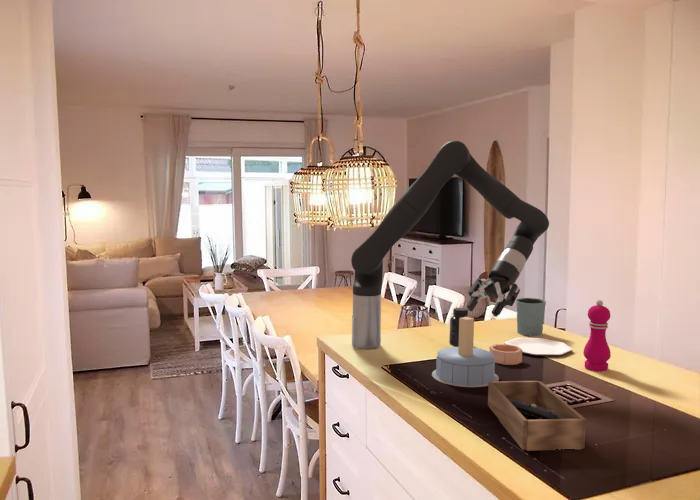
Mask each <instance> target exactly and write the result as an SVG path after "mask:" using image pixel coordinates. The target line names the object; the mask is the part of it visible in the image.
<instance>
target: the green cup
mask: <svg viewBox="0 0 700 500" xmlns="http://www.w3.org/2000/svg"><path fill="white" fill-rule="evenodd" d="M515 304H516V305H515V306H516V328H517V329H516V333H518V334H519V335H521V336H526V337H540V336H542V335H543V329H544V326H543V325H544V319H545V309H546V304H547V301H546V300H544V299H541V298H535V297H520V298H519V297H518V298H516V300H515Z"/></svg>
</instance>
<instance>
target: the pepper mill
mask: <svg viewBox="0 0 700 500" xmlns="http://www.w3.org/2000/svg"><path fill="white" fill-rule="evenodd" d="M595 304H596V305H592V306H591V307H590V308H589V309H588V310H587V317H588V319H589V322H588V323H589V325H588V326H589V329H590V335H589V338H588V340H587V342H586V343H585V346H584V348H583V351H582V352H583V356H584V358H585V359H586V360H584V368H585V369H586V370H589V371H593V372H599V371H600V372H602V371H604V372H607V371H608V370H609V363H608V361H609V360H610V359H611V349H610V346H609V344H608V341H607V338H606V337H607V335H606V333H607V329H609V326H608V325H609V320H610V318H611V311H610V309H609V308H607V307H606V306H605V305H604V302H603V300H601V299H599V300H598V299H597V300H596V302H595Z"/></svg>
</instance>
